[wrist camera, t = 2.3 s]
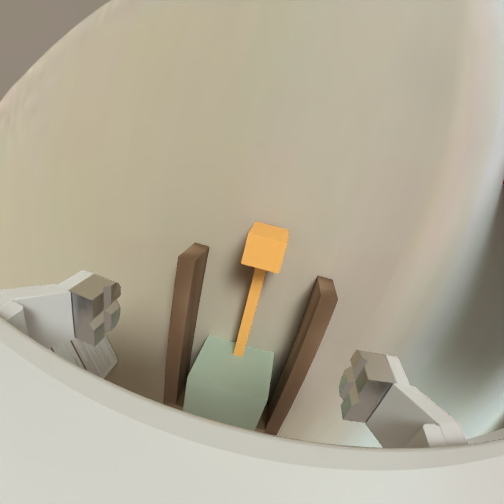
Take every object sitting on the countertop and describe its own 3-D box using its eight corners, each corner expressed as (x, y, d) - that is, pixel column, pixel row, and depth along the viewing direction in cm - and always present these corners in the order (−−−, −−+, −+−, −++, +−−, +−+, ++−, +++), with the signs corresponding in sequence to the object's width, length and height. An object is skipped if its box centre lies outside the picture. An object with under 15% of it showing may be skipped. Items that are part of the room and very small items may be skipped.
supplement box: (78, 360, 30) (18, 423, 18) (52, 306, 28) (-21, 362, 16) (121, 362, 28) (58, 441, 16) (94, 302, 26) (10, 371, 14)
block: (312, 233, 21) (318, 259, 16) (258, 396, 27) (249, 442, 21) (233, 213, 22) (211, 231, 16) (200, 380, 27) (181, 422, 22)
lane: (332, 279, 22) (338, 299, 19) (276, 414, 27) (273, 439, 24) (194, 242, 23) (178, 256, 20) (175, 385, 28) (163, 408, 25)
